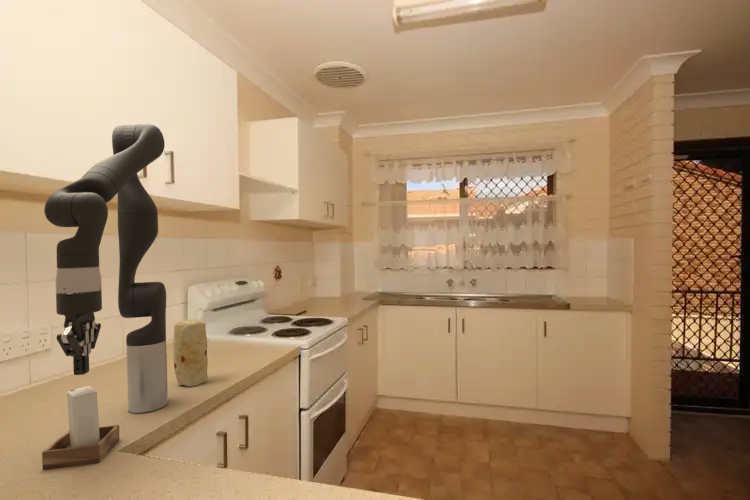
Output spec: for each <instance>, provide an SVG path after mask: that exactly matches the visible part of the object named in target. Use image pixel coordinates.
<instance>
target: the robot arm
mask: <svg viewBox="0 0 750 500" xmlns="http://www.w3.org/2000/svg"><path fill="white" fill-rule="evenodd" d="M164 137H165V136H164V134H163V133H162V131H161V129H160V128H159V127H158V126H157V125H155V124H152V123H144V122H143V123H120V124H117V125H116V126H115V127H114V128H113V130H112V134H111V139H112V140H111V144H112V145H111V146H112V147H111V148H112V153H113V154H112V155H111V156H108V157H105V158H104V159H102V160H100V161H99V162H97V163H96V164H94V165H93V166H92V167H91V168H89V169H88V170H87V171H86V172H85V173H84V175H83V176H81V178H78V179H77V180H75V181H72V182H70V183H69V184H66V185H65V186H63V187H61V188H59V189H58V190H56V191H54V192H53V193H52V194H50V196H49V197H48V198H47V200H46V201H45V204H44V208H43V209H44V216H45V219H46V220H47V221H48V222H49V223H51V224H52V225H54V226H55V227H59V228H77V231H76V233H75V234H74V235H73V236H71V237H69V238H65V239H62V240H60V241H58V243H57V244H56V268H57V269H56V276H55V300H56V301H55V303H56V306H55V307H56V308H55V309H56V310H55V312H56V314H57V315H59V316H64V323H63V328H64V331H63V332H62V333H58V334H57V335H56V341H57V343H58V345H59V346H60V348H61V350H62V351H63V353H64V354H65V357H71V358H73V359H72V360H73V361H72V363H73V365H72V366H73V375H75V376H81V375H86V374H87V373H89V371H90V354H91V352H92V350H95V348H96V345H97V341H98V339H99V338H98V337H99V336H100V335H99V334H100V330H101V327H102V323H98V322H96V321H95V320H96V317H95V313H97V312H100V311H101V310H102V308H103V298H102V294H103V293H102V275H101V271H100V270H101V269H100V245H101V241H102V238H103V236H104V235H103V234H104V232H105V231H104V230H105V228H106V225H107V221H108V215H109V208H108V205H107V203H109V202H110V201H112V200H113V199H114V198H115V196H117V234H118V247H119V248H118V250H119V253H118V254H119V269H118V288H117V289H118V290H117V294H118V295H117V305H118V312H119V314H120V316H121V317H122V318H124V319H134V318H148V317H151V318H150V319H151V320H150V322H148V324H146V325H144V326H142V327H140V328H137V329H134V330H132V331H130V332H129V333H127V334H126V336H125V337H126V339H125V340H126V341H125V344H126V374H127V409H128V410H127V411H128V412H129V413H132V414H133V413H134V414H141V413H143V414H144V413H149V412H153V411H157V410H160V409H161V408H163V407H166V406H167V405H168V402H169V397H168V396H169V394H168V393H169V391H168V363H167V362H168V361H167V359H168V358H167V357H168V355H167V320H166V317H167V289H166V286H165V284H164V282H161V281H150V282H149V281H145V282H135V279H136V273H137V270H138V267H139V265H140V263H141V261H142V260H143V258H144V256H145V255H146V253H147V252H148V251H149V249H150V248H151V246H152V245H153V244H154V242H155V240H156V238H157V237H158V234H159V214H158V207H157V205H156V203H155V202H154V199H153V198H152V197H151V196H150V194H149V193H148V191H147V190H146V188H145V187H144V185H143V183H142V182H141V180H140V178H139V175H138V173H140V172H141V171H142V170H144V169H145V168H146V167H148V166H149V165H150V164H152V163H153V162H155V161H156V160H157V159H159V158H160V157H161V156H162V154H163V153H164V151H165V146H166V145H165V144H166V143H165V138H164Z"/></svg>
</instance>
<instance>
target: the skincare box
mask: <svg viewBox="0 0 750 500" xmlns="http://www.w3.org/2000/svg"><path fill="white" fill-rule="evenodd" d="M66 398H67V415H68V429H69V430H68V431H70V446H71V448H73V447H82V446H91V445H97V444H98V443H99V442H100V436H99V427H100V421H99V405H98V391H97V390H95V389H94V388H93V387H92V386H90V385H87V386H83V387H79V388H75V389H71V390H68V391H67V392H66Z"/></svg>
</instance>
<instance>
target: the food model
mask: <svg viewBox="0 0 750 500" xmlns="http://www.w3.org/2000/svg"><path fill="white" fill-rule="evenodd" d="M206 329H207V327H206V321H203V320H201V319H199V320H198V319H189V318H188V319H182V320H180V321H178V322H176V323H174V327H173V348H172V349H173V351H172V354H173V368H174V374H175V378H176V381H177V383H178V385H180V386H186V387H188V388H189V387H190V388H192V387H195V386H198V385H200V384H202V383H205V382H207V380H208V378H209V377H208V376H209V375H208V367H209V365H208V364H209V362H208V358H209V357H208V339H207V338H208V337H207V330H206Z"/></svg>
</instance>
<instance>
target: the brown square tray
mask: <svg viewBox="0 0 750 500" xmlns="http://www.w3.org/2000/svg"><path fill="white" fill-rule="evenodd" d="M99 436H100V442H99V443H98V444H97V445H91V446H82V447H73V448H71V446H70V431H69V430H68V431H66V432H65V433H64V434H63V435H62V436H60V437H59V438H58V439H57V440H56V441H54V442H53V443H51V444H50V445H49V446H48V447H47V448H46V449H44V450H43V451H42V452H41V458H42V459H41V461H42V462H41V463H42V470H50V469H59V468H66V467H67V468H68V467H74V466H82V465H90V464H92V465H93V464H99V463H100V462H101V461H102V459H104V458H105V456H107V455H108V453H109V452H110V451H111V450H112V449H113V447H114V446H115V445H117V443H118V442H119V441H120V425H119V424H116V425H115V424H114V425H106V426H105V425H104V426H99Z"/></svg>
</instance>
